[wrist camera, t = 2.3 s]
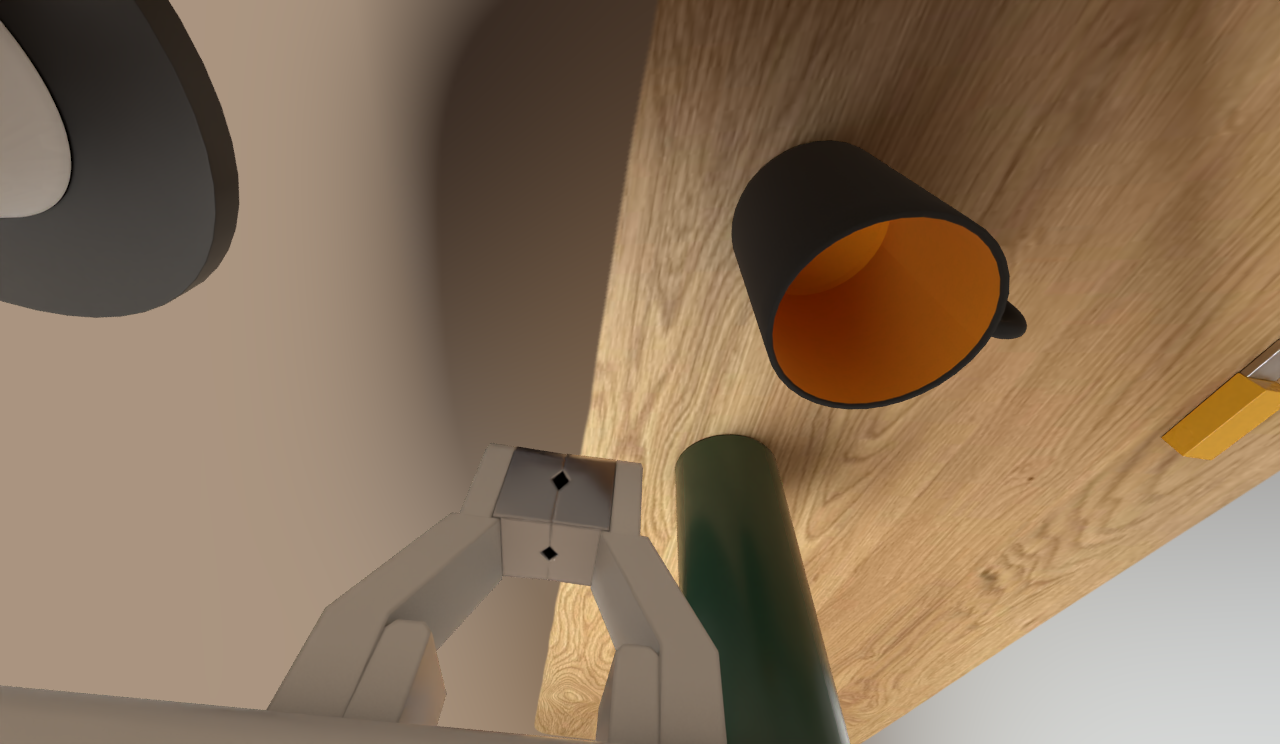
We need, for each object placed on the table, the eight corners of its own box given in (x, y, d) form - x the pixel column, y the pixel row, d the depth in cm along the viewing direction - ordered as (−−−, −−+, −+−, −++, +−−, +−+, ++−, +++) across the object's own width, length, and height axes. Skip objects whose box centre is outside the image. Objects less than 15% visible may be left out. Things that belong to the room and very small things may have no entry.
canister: (650, 468, 37) (644, 803, 21) (734, 415, 34) (801, 772, 18) (717, 515, 41) (754, 834, 25) (800, 472, 37) (906, 815, 21)
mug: (902, 317, 28) (1002, 440, 20) (712, 278, 27) (735, 391, 19) (991, 177, 23) (1173, 264, 15) (763, 122, 22) (824, 183, 14)
